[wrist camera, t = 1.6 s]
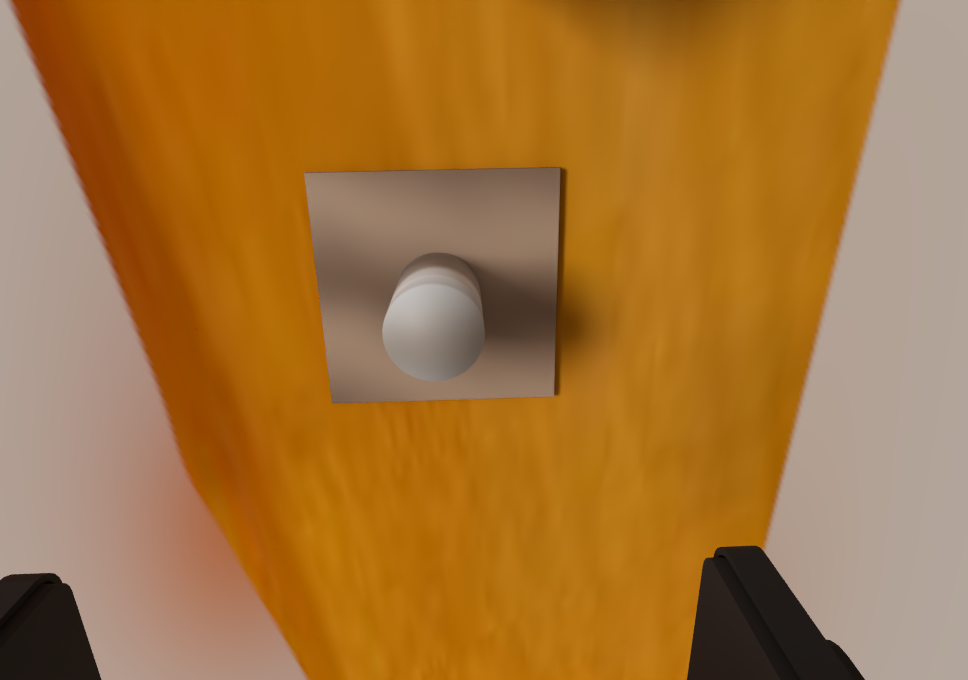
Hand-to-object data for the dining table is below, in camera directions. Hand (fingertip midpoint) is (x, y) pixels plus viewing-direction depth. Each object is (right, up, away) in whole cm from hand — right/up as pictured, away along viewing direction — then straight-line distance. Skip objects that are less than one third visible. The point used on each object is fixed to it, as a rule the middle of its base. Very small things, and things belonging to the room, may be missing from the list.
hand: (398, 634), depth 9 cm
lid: (-1, +7, +17) cm, 18 cm away
